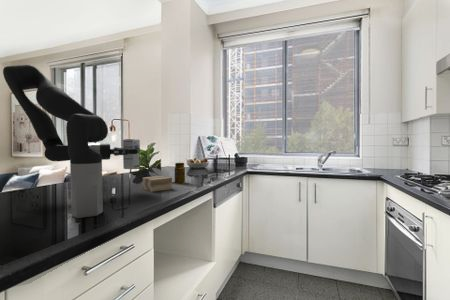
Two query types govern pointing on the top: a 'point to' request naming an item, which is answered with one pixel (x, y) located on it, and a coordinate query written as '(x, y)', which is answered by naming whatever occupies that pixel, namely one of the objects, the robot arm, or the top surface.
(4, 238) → the top surface
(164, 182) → the wooden block
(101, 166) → the robot arm
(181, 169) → the condiment
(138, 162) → the syrup box
